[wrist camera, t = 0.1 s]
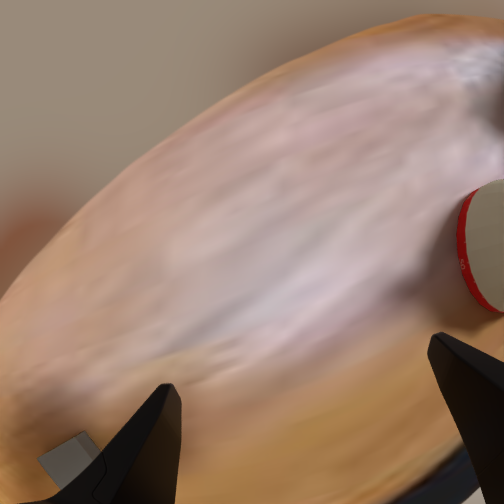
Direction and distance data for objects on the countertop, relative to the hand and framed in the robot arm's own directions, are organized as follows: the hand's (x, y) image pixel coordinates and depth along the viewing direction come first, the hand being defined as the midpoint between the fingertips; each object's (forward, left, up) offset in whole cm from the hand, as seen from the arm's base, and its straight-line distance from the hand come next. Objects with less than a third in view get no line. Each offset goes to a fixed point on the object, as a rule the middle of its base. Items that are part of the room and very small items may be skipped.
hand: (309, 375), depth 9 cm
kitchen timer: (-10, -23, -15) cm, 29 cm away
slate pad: (-3, +29, -15) cm, 33 cm away
